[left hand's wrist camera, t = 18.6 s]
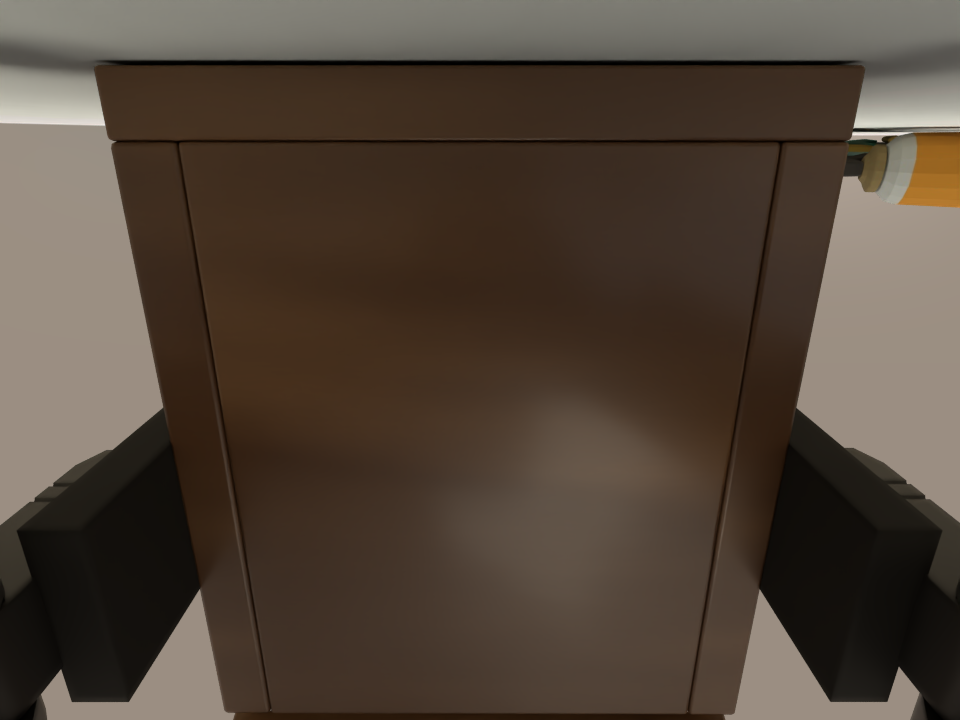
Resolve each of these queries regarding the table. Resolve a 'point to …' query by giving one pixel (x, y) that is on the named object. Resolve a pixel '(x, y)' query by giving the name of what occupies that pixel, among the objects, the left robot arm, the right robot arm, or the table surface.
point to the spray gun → (909, 168)
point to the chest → (479, 367)
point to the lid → (470, 716)
